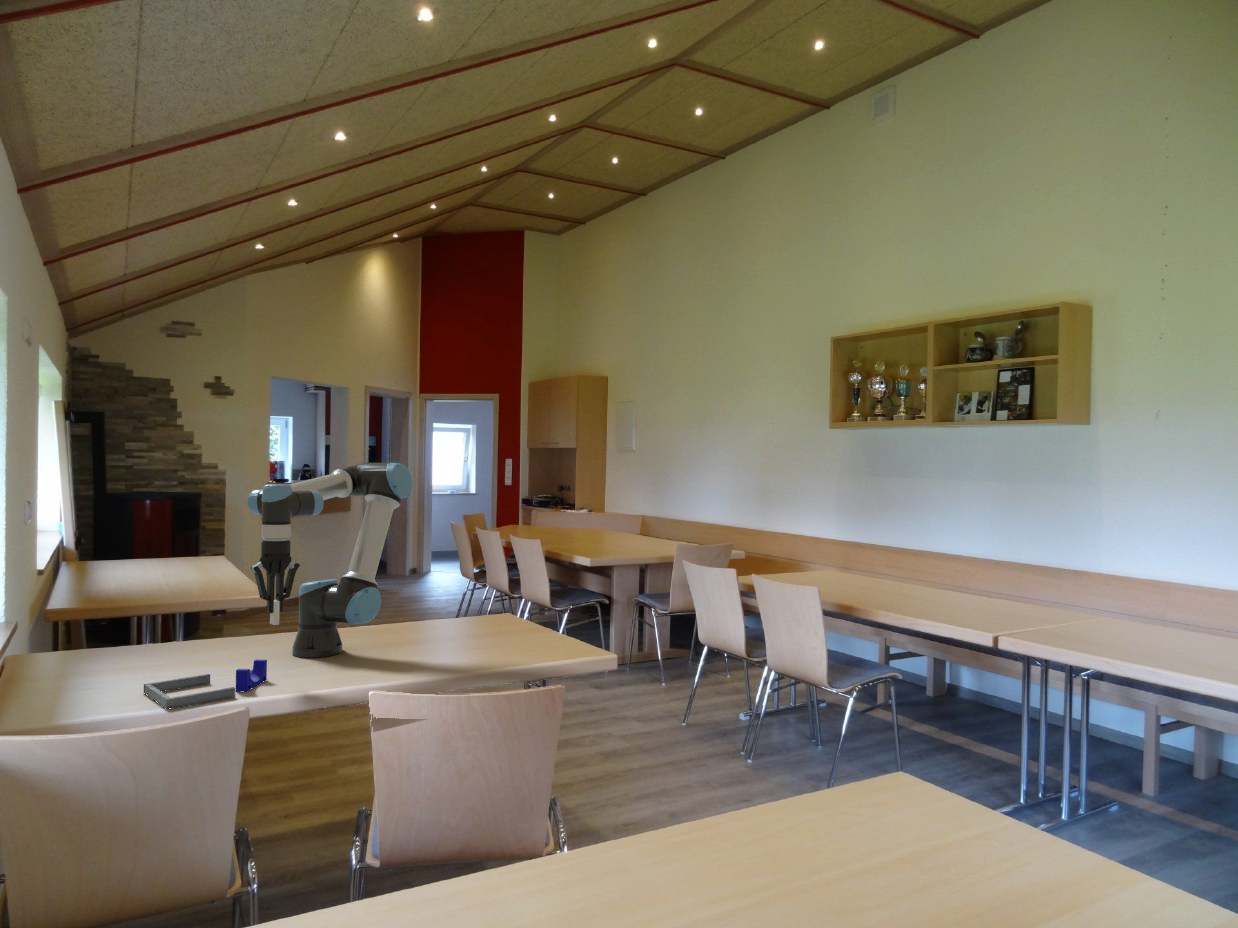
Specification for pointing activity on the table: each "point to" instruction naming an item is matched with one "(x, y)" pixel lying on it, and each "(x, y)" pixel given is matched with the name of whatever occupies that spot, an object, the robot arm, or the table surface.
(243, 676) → the cable clip
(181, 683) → the bracket
